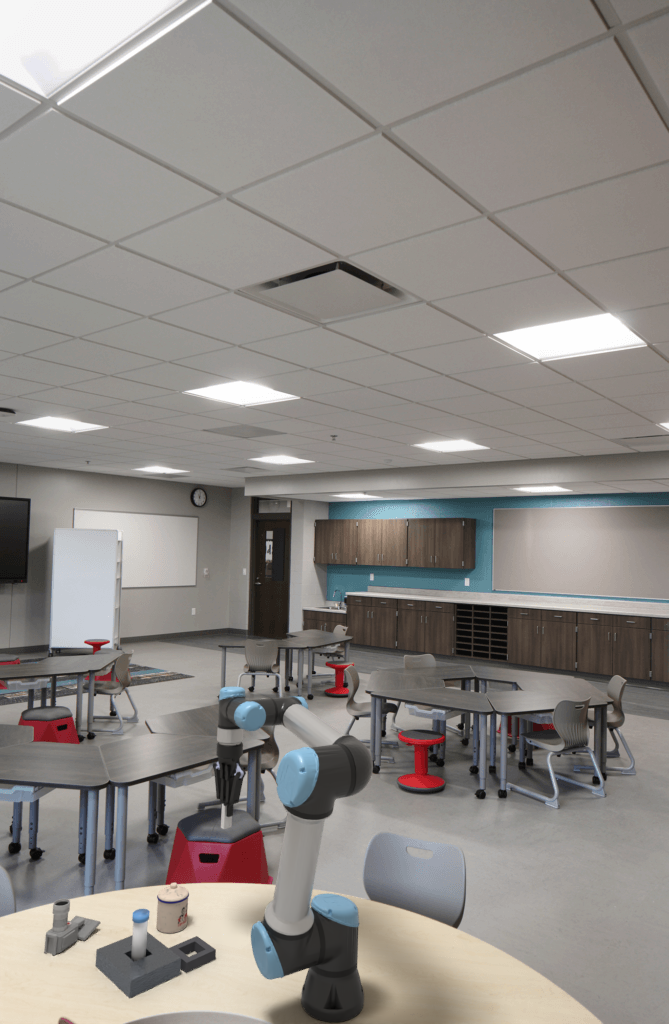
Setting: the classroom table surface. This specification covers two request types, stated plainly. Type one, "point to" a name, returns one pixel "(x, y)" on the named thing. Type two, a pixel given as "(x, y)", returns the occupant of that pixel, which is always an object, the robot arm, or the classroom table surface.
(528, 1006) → the classroom table surface
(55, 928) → the camera
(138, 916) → the plug
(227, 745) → the robot arm
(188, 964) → the frame
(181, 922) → the teacup with lid
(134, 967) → the port panel
